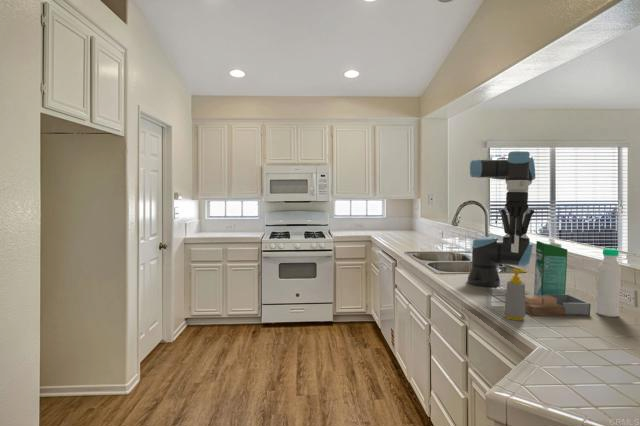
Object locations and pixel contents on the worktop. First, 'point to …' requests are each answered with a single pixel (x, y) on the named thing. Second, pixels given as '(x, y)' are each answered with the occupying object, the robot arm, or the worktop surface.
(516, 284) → the soap bottle
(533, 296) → the tile
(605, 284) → the water bottle
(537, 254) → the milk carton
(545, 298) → the tile
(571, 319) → the worktop surface
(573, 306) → the tray
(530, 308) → the walnut board
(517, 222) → the robot arm
